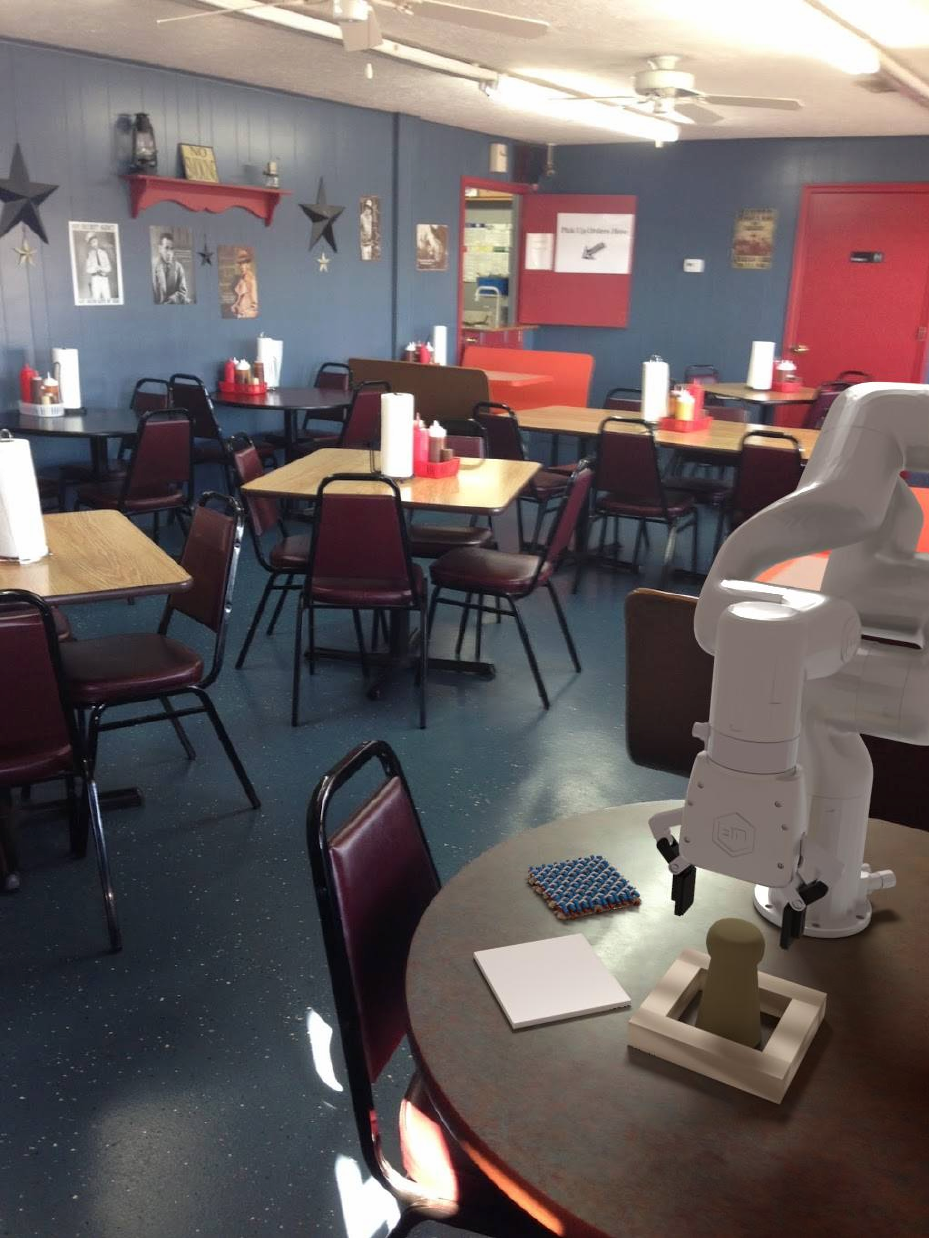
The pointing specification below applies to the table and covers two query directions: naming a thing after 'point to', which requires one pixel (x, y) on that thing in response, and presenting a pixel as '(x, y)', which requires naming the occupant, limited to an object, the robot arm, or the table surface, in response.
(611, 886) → the woven mat
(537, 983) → the ceramic tile
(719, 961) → the cork
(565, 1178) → the table surface
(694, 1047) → the wooden holder
